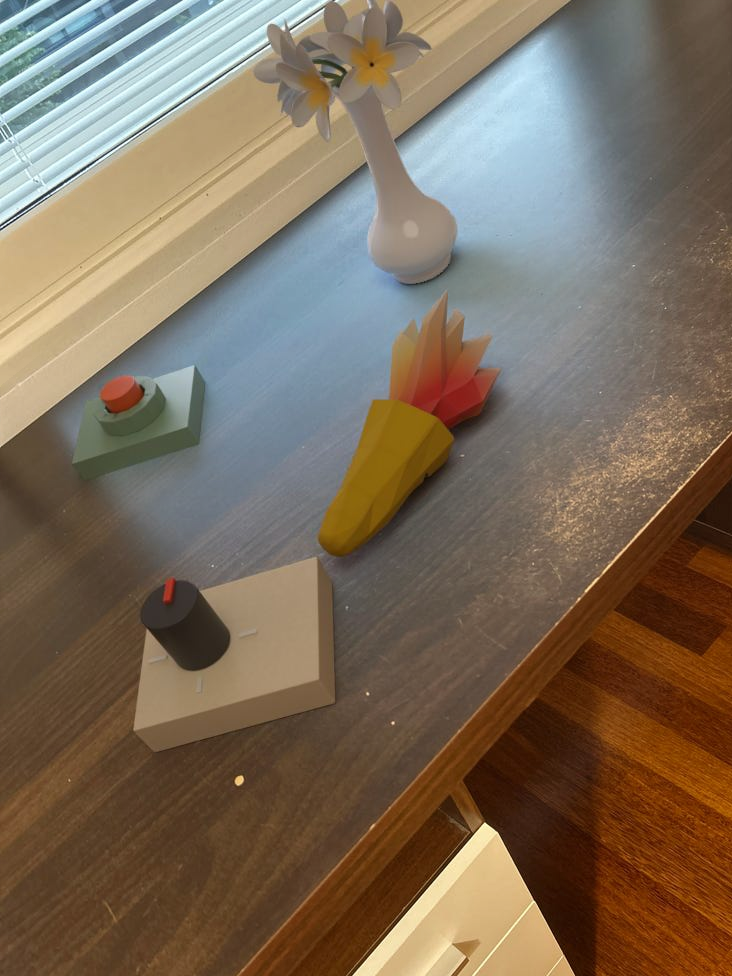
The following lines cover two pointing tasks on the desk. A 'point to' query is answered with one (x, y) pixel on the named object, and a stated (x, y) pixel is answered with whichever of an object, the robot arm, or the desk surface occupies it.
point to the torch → (409, 425)
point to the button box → (141, 424)
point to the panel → (246, 660)
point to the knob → (185, 625)
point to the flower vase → (366, 125)
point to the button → (121, 394)
